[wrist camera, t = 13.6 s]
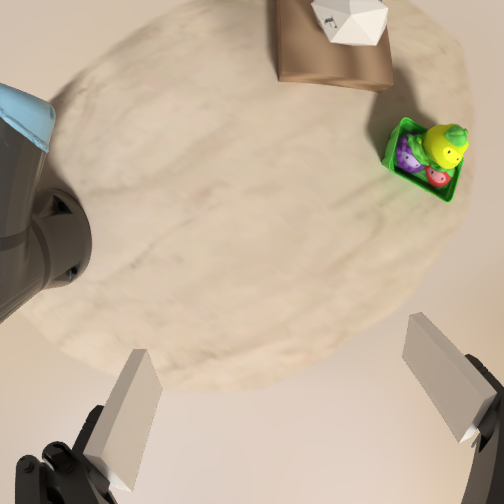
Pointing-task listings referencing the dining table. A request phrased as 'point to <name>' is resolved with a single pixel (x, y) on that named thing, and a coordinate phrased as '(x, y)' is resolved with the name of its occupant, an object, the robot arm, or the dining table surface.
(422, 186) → the fruit basket
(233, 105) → the dining table surface
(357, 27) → the die
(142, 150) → the dining table surface
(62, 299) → the dining table surface
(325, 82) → the walnut block
